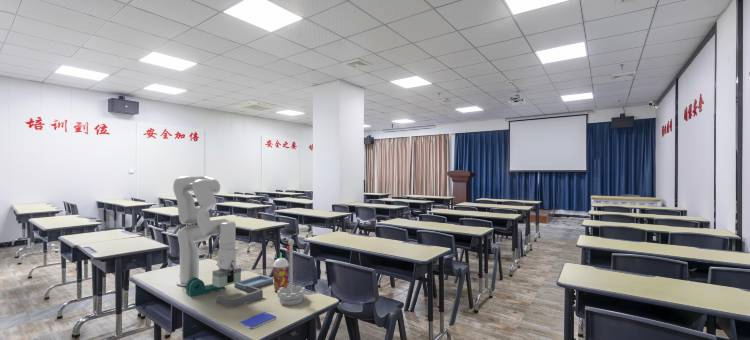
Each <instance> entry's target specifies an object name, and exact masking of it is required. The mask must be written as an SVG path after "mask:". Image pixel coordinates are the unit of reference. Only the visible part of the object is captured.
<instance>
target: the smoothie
mask: <svg viewBox="0 0 750 340" xmlns="http://www.w3.org/2000/svg"><path fill="white" fill-rule="evenodd" d="M279 255H280V257H279V258H277V259H275V261H274V262H273V264H272V272H273V288H274V290H275V292H276V293H277V290H279V288H281V287H284V289H285V288H287V286H289V275H290V262H289V261H288V260H287V259H286V258H285V257H282V255H283V254H282V252H280V254H279Z"/></svg>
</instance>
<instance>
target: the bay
mask: <svg viewBox="0 0 750 340" xmlns="http://www.w3.org/2000/svg"><path fill="white" fill-rule="evenodd" d="M245 293H246V294H243V295H240V296H237V297H234V298H230V297H228V296H225V295H221V294H216V302H217V304H218V303H219V304H221V305H222V306H223V305H224V306H226V307H228V308H231V309H233V308H235V307H236V308H237V307H238V306H241V305H244V304H247V303H250V302H253V301H256V300H259V299H261V298H263V295H264V293H263V290H262V289H260V288H255V287H252V286H249V285H247V286H246V291H245Z"/></svg>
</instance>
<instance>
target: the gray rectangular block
mask: <svg viewBox="0 0 750 340" xmlns="http://www.w3.org/2000/svg"><path fill="white" fill-rule="evenodd" d="M230 268H231V267H230ZM236 268H237V270H236V271H235V274H234V281H233V282H231V283H227V275H228V270H225V269H219V268H218V269H215V270H212V279H211V280H212V281H211V282H212V283H211V284H212V285H214V286H216V287H218V288H220V287H223V286H225V287H227V286H230V285H233V284H234V285H235V283H237V282H240V281H242V280H241V279H242V268H241V267H239V266H236ZM230 272H231V270H230Z"/></svg>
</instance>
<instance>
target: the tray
mask: <svg viewBox="0 0 750 340" xmlns="http://www.w3.org/2000/svg"><path fill="white" fill-rule="evenodd" d="M271 284H274V277H269V276H267V275H262V274H260V275H256V276H253V277H249V278H245V279H243V280H241V281H240V282H237V283H234V288H236V289H239V290H241V291H244V292H246V286H247V285H249V286H252V287H255V288H258V289H260V288H262V287H265V286H267V285H271Z"/></svg>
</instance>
